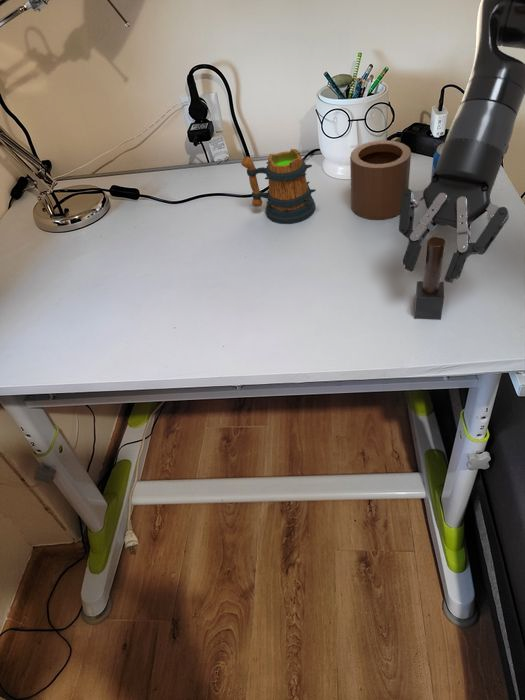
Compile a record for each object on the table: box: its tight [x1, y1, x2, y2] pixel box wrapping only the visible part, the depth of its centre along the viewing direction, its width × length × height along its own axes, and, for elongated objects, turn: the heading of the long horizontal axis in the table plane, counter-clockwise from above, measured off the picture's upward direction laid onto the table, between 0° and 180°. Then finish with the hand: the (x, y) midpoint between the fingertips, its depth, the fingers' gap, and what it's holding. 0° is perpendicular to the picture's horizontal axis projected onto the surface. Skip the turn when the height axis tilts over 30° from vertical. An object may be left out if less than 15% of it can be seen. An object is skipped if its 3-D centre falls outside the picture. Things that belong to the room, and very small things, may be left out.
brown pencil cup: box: [349, 139, 412, 221], centre depth 91 cm, size 10×10×10 cm
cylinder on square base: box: [414, 236, 446, 320], centre depth 70 cm, size 4×4×12 cm
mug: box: [240, 148, 316, 225], centre depth 94 cm, size 13×10×12 cm
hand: (428, 275), depth 67 cm, fingers open, 5 cm apart
